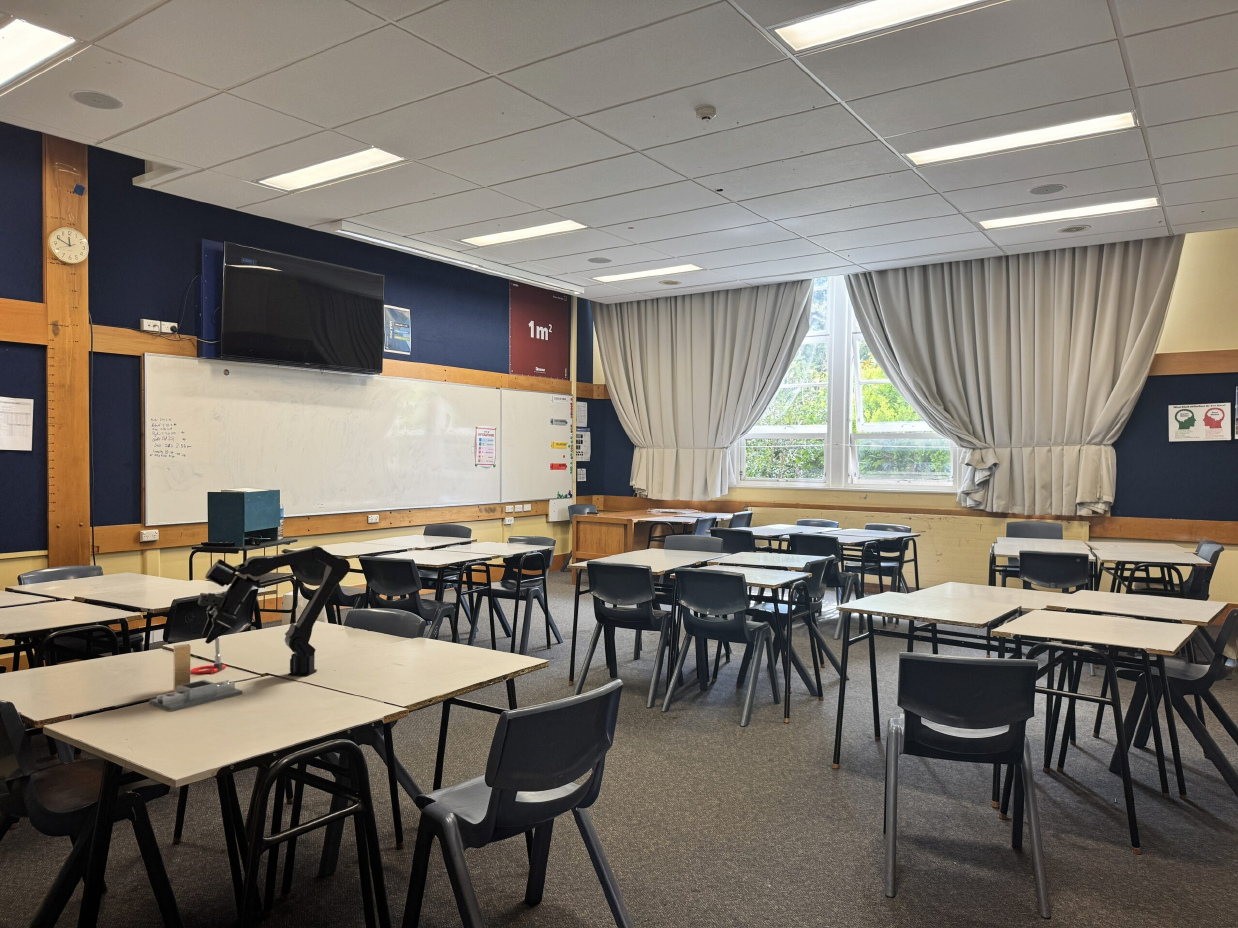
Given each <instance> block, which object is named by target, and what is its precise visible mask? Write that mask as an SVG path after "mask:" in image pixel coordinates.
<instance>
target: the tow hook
mask: <svg viewBox="0 0 1238 928" xmlns="http://www.w3.org/2000/svg"><path fill="white" fill-rule="evenodd" d="M214 644H215V645H214V648H215V652H214V653H215V655H214V663H213V664H210V665H202V666H197V667H194V668H190V674H192V675H203V674H212V675H213V674H215V673H219V672H221V671H222V670H225V669H226V668H227V665H225V664H223V662H222V661H221V660H222V657H221V656H222V655H221V653H220V651H221V649H220V637H218V638H216V639H215V640H214Z"/></svg>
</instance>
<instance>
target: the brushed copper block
mask: <svg viewBox="0 0 1238 928" xmlns="http://www.w3.org/2000/svg"><path fill="white" fill-rule="evenodd" d="M190 670H191V645H190V644H189V643H188V644H187V643H186V644H178V645H173V674H172V675H173V677H172V681H173V684H172V685H173V687H172V689H173V690H172V691H173V692H177V685H182V684H186V683H191V671H190Z"/></svg>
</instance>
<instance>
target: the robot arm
mask: <svg viewBox="0 0 1238 928" xmlns="http://www.w3.org/2000/svg"><path fill="white" fill-rule="evenodd" d="M313 560H317V561H318V562H320V563H321V564H323V565H325V570H324V573H323V579H322V581H321V583H320V585H319V586H318V588H317V590H316V591H315V593H314V595H313V597H312V598H311V601H310V603H309V604H308V605H307V607H306V610H305V611H304V613H303V615H302V617H301V619H300V620H298V622H296V624H295V623H293V622H291V623H290V625H289V628H288V630H287V631H286V632H285V633H284V635H285V638H284V642H285V645H286V646H287V647H288V648H289V649H290V650H291V651H292V654H291V657H290V659H289V673H288V676H298V677H300V676H302V677H308V676H309V675H312V674H314V673H315V672H317V671H318V669H316V668H315V661H316V660H315V657H316V655H315V652H316V648H315V647H314V646H312V645H311V643H309V642H310V639H311V636H312V632H313V628H314V625H315V624H316V621H317V620H318V618H319V616H320V614H321V613H322V611H323V609H324V607H325V606H326V604H327V602H328V600H329V598H330V596H331V595H332V593H333V592H334V589H336V588H335V587H337V585H338V584H339V583H340V582H342V580H344V579H345V577H346V576H347V575H348V573H349V572H350V571H351V564H350V562H349V560H348V559H346V558H344V557H342V556H341V557H340V556H335V555H333V554H331V553H330V552H329V551H327V550H325V549H323V547H321V546H318V545H312V547H308V548H303V549H298V550H294V551H289V552H284V553H281V554H280V553H279V554H275V555H253V556H249V557H248V558H246V560H245V561H244V562H242V563H240V564H237V565H235V566H233V565H231V564H229V563H227V562H226V561H225V560H223V559H221V558H218V559H217V561H216V562H215V563H214V564H213V565H212V566H210V568H208V571H207V572H206V574H205V575H204V576H205V577H204V578H205V579H206V580H208V581H210V582H212V583H214V584H217V585H218V586H220V587H224V586H229V587H228V588H227V590H226V591H223V592H222V593H221V595H220V594H215V592H214V593H211V592H208V593H205V592H200V595H199V597H198V598H199V599H198V601H197V604H198V605H199V606H202V607H203V606H205V607H206V606H208V607H207V608H206V615H207V621H206V623H205V626H204V628H203V631H202V634H201V638H203V639H205V640H204V642H205V643H206V644H207V645H209V644H211V643H212V642H213V641H215V639H216V638H220V637H221V636H222V635H223V634H224V635H225V633H227V632H229V631H230V630H232V628H233V629H234V628H235V627H236V625H237V623H238V620H237V617H236V615H237V614H236V613H237V611H238V610H239V608H240V606H243V605H244V601H245V599H246V598H247V596H248V595H249V593H250V592H251V591H252V589H253V588H254V587H256V588H258V589H261V588H262V586H261V583H260V581H261V579H259V578H257V577H261V576H263V575H265V574H268V573H271V572H272V571H274V570H276V569H279V568H283V567H287V566H292V565H296V564H300V563H304V562H309V561H313ZM237 573H239V574H240V575H239V574H237ZM241 575H243V576H241ZM248 575H250V576H251V577H250V576H248ZM253 577H255V579H254V578H253Z"/></svg>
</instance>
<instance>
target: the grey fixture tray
mask: <svg viewBox="0 0 1238 928" xmlns="http://www.w3.org/2000/svg"><path fill="white" fill-rule="evenodd" d="M235 683H236V682H235V681H231V682H230V681H229V679H226V680H222V681H218V682H213V681H210V680H206V679H200V680H197V681H192V682H191V681H190V683H186V684H182V685H177V692H174V691H173V692H169V693H165V694H159V695H157V696H156V698H152V699H149V700H148V701H149V705H153V706H155V707H158V708H160V709H164V710H166V711H169V712H175V711H179V710H183V709H186V708H190V707H194V706H198V705H203V704H207V703H210V702H215V701H220V700H224V699H228V698H232V697H236V696H240V695H243V693H244V691H243V690H241V689H238V688H236V684H235Z"/></svg>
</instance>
